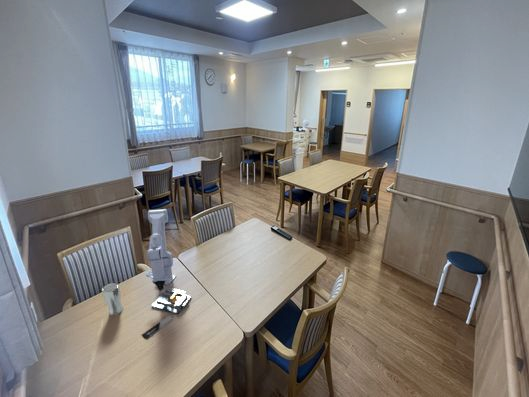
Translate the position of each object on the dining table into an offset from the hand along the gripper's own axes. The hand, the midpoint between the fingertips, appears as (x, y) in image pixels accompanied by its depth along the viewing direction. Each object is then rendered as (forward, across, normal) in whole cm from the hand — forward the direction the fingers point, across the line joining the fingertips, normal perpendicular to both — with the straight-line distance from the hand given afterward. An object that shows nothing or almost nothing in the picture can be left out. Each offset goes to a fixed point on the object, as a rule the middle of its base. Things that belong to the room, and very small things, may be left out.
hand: (161, 289), depth 132 cm
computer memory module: (+8, +9, -15) cm, 19 cm away
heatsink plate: (+7, +6, 0) cm, 9 cm away
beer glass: (+7, -18, -14) cm, 24 cm away
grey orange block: (+6, +10, 0) cm, 12 cm away
